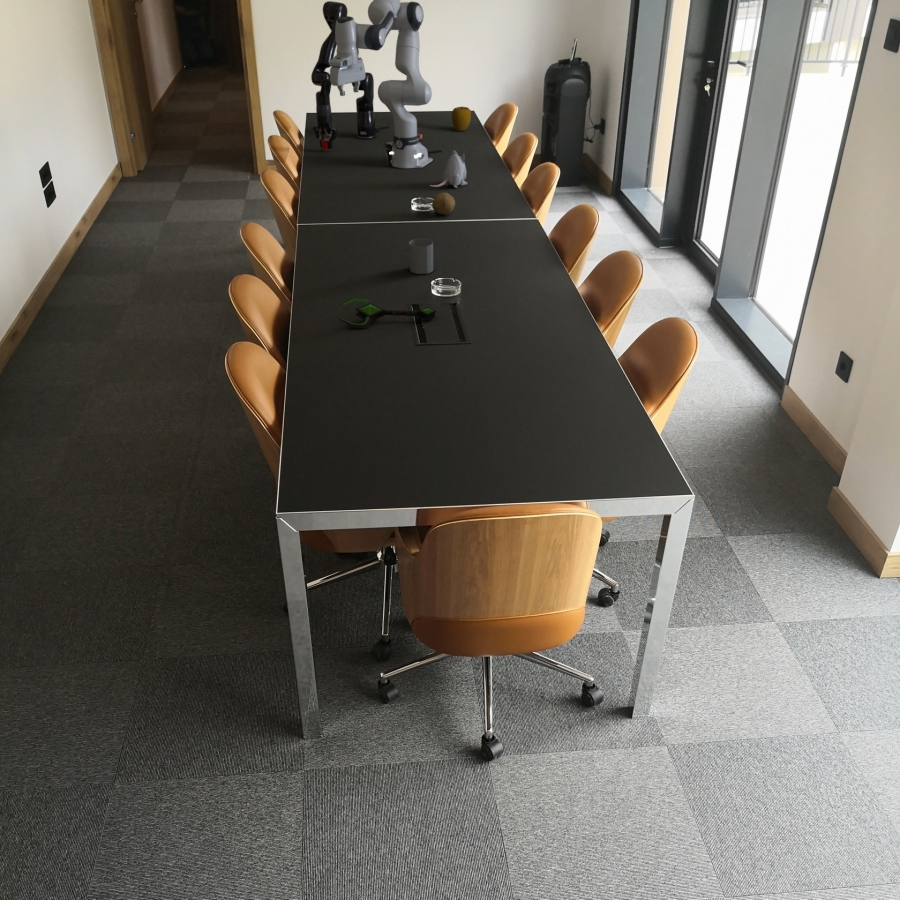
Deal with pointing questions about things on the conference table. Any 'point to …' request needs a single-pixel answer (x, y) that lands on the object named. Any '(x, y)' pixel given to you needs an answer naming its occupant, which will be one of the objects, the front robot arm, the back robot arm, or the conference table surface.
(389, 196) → the conference table surface
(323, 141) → the tin
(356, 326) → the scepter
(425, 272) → the cup
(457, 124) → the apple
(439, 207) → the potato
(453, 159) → the toy
